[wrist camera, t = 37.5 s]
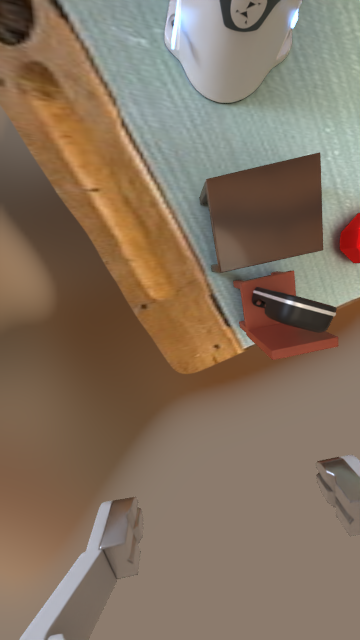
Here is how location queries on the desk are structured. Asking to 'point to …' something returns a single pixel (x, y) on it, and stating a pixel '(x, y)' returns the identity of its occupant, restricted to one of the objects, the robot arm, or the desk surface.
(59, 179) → the desk surface
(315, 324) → the battery charger
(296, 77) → the desk surface
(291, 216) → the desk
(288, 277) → the chair
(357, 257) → the ball
